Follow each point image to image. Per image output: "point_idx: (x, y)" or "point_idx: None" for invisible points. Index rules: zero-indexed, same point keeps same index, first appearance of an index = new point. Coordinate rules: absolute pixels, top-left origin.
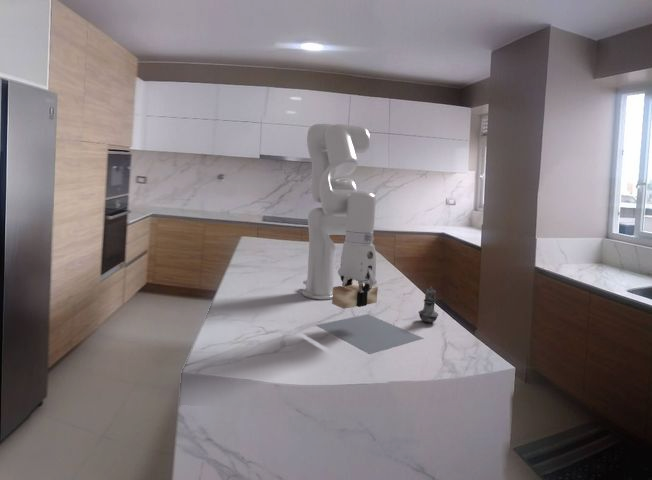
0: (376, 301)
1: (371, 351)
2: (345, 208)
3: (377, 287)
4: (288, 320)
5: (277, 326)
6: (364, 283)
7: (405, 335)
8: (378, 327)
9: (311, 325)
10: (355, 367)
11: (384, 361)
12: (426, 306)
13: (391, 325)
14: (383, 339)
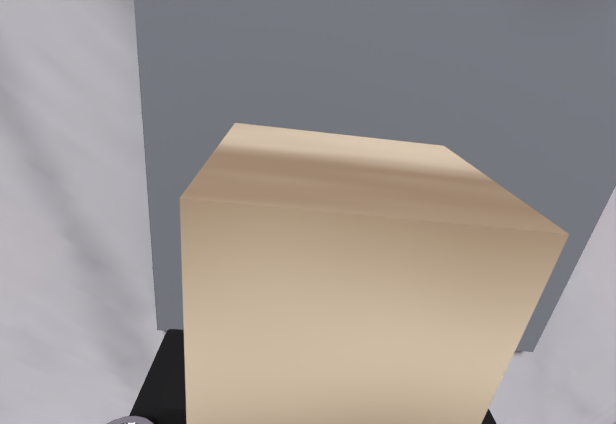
0: (447, 151)
1: (527, 333)
2: None
3: (561, 237)
4: (13, 357)
5: (74, 419)
6: (200, 244)
7: (598, 31)
8: (391, 68)
9: (123, 316)
10: (521, 413)
11: (586, 325)
12: None
13: None
14: None
